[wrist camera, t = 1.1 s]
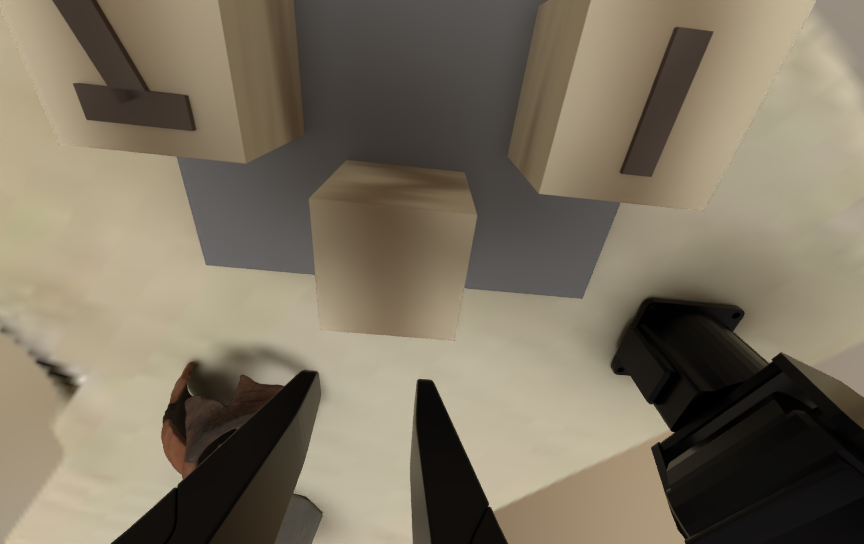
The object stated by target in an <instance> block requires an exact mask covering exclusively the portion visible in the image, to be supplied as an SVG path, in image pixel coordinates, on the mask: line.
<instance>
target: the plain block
mask: <svg viewBox="0 0 864 544" xmlns="http://www.w3.org/2000/svg"><path fill="white" fill-rule="evenodd" d="M309 206H310V218H311V230H312V242H313V254H314V266H315V278H316V290H317V301H318V313H319V325H320V330H329V331H341V332H353V333H365V334H378V335H390V336H402V337H414V338H426V339H438V340H450V341H455V337H456V331H457V326H458V320H459V315H460V309H461V303H462V298H463V292H464V287H465V281H466V276H467V270H468V264H469V259H470V253H471V248H472V242H473V237H474V231H475V225H476V220H477V212H476V209H475V206H474V202H473V199H472V195H471V192H470V189H469V185H468V182H467V178H466V175H465V172H456V171H447V170H437V169H428V168H418V167H409V166H399V165H390V164H380V163H371V162H361V161H352V160H346V161H345V162H344V163H343V164H342V165H341V166H340V167H339V168H338V169H337V170H336V171H335V172H334V173H333V174H332V175H331V176H330V177H329V178H328V179H327V180H326V181H325V183H324V184H323V185H322V186H321V187H320V188H319V189H318V190H317V191H316V192H315V193H314V194H313V195H312V196H311V197H310V198H309Z"/></svg>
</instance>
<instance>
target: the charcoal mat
mask: <svg viewBox="0 0 864 544" xmlns="http://www.w3.org/2000/svg"><path fill="white" fill-rule="evenodd" d="M546 1H548V0H294V10H295V22H296V34H297V47H298V59H299V71H300V83H301V95H302V108H303V120H304V132H305V135H303V136H301V137H299V138H297V139H295V140H293V141H291V142H289V143H287V144H285V145H283V146H280V147H278V148H276V149H274V150H272V151H270V152H268V153H266V154H264V155H262V156H260V157H258V158H256V159H254V160H252V161H250V162H248V163H246V164H245V163H236V162H226V161H216V160H207V159H197V158H187V157H178V156H177V159H178V163H179V167H180V170H181V174H182V178H183V181H184V185H185V189H186V193H187V196H188V200H189V204H190V207H191V211H192V215H193V219H194V222H195V226H196V230H197V233H198V237H199V241H200V245H201V248H202V252H203V256H204V259H205V263H206V265H212V266H223V267H234V268H246V269H257V270H268V271H279V272H290V273H301V274H313V275H315V266H314V254H313V242H312V230H311V218H310V206H309V198H310V197H311V196H312V195H313V194H314V193H315V192H316V191H317V190H318V189H319V188H320V187H321V186H322V185H323V184H324V183H325V181H326V180H327V179H328V178H329V177H330V176H331V175H332V174H333V173H334V172H335V171H336V170H337V169H338V168H339V167H340V166H341V165H342V164H343V163H344V162H345V161H346V160H352V161H361V162H371V163H380V164H390V165H399V166H409V167H418V168H428V169H437V170H447V171H456V172H465V175H466V178H467V182H468V185H469V189H470V192H471V195H472V199H473V202H474V206H475V209H476V212H477V220H476V225H475V231H474V237H473V242H472V248H471V253H470V259H469V264H468V270H467V276H466V281H465V287H464V288H469V289H480V290H491V291H502V292H514V293H525V294H536V295H547V296H558V297H569V298H581V299H582V298H583V296H584V293H585V290H586V288H587V285H588V283H589V280H590V278H591V275H592V273H593V270H594V268H595V265H596V263H597V260H598V258H599V255H600V253H601V250H602V248H603V245H604V243H605V240H606V238H607V235H608V233H609V230H610V228H611V225H612V223H613V220H614V218H615V215H616V212H617V210H618V207H619V205H620V202H613V201H603V200H594V199H584V198H574V197H565V196H555V195H545V194H539V193H538V192H537V191H536V190H535V189H534V187H533V186H532V185H531V184H530V183H529V181H528V180H527V179H526V178H525V177H524V176H523V174H522V173H521V172H520V171H519V170H518V168H517V167H516V166H515V165H514V164H513V162H512V161H511V160H510V159H509V158H508V157H507V156H508V151H509V146H510V141H511V137H512V132H513V127H514V122H515V117H516V113H517V108H518V103H519V98H520V93H521V88H522V84H523V79H524V74H525V69H526V64H527V60H528V55H529V50H530V45H531V40H532V36H533V31H534V26H535V21H536V16H537V11H538V7H539V6H540V5H541V4H543V3H545V2H546Z"/></svg>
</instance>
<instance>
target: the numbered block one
mask: <svg viewBox="0 0 864 544" xmlns="http://www.w3.org/2000/svg"><path fill="white" fill-rule="evenodd" d="M815 2H816V0H548V1H546V2H545V3H543V4H541V5H540V6H539V7H538V11H537V16H536V21H535V26H534V31H533V36H532V40H531V45H530V50H529V55H528V60H527V64H526V69H525V74H524V79H523V84H522V88H521V93H520V98H519V103H518V108H517V113H516V117H515V122H514V127H513V132H512V137H511V141H510V146H509V151H508V156H507V157H508V158H509V159H510V160H511V161H512V162H513V164H514V165H515V166H516V167H517V168H518V170H519V171H520V172H521V173H522V174H523V176H524V177H525V178H526V179H527V180H528V181H529V183H530V184H531V185H532V186H533V187H534V189H535V190H536V191H537V192H538V193H539V194H545V195H555V196H565V197H574V198H584V199H594V200H603V201H613V202H623V203H632V204H642V205H652V206H661V207H671V208H681V209H690V210H700V211H704V210H705V208H706V207H707V205H708V203H709V201H710V199H711V197H712V195H713V193H714V192H715V190H716V188H717V186H718V184H719V182H720V180H721V178H722V177H723V175H724V173H725V171H726V169H727V167H728V165H729V164H730V162H731V160H732V158H733V156H734V154H735V152H736V150H737V149H738V147H739V145H740V143H741V141H742V139H743V137H744V135H745V134H746V132H747V130H748V128H749V126H750V124H751V122H752V120H753V119H754V117H755V115H756V113H757V111H758V109H759V107H760V105H761V104H762V102H763V100H764V98H765V96H766V94H767V92H768V90H769V89H770V87H771V85H772V83H773V81H774V79H775V77H776V75H777V74H778V72H779V70H780V68H781V66H782V64H783V62H784V60H785V59H786V57H787V55H788V53H789V51H790V49H791V47H792V45H793V44H794V42H795V40H796V38H797V36H798V34H799V32H800V30H801V29H802V27H803V25H804V23H805V21H806V19H807V17H808V15H809V14H810V12H811V10H812V8H813V6H814V4H815Z"/></svg>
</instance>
